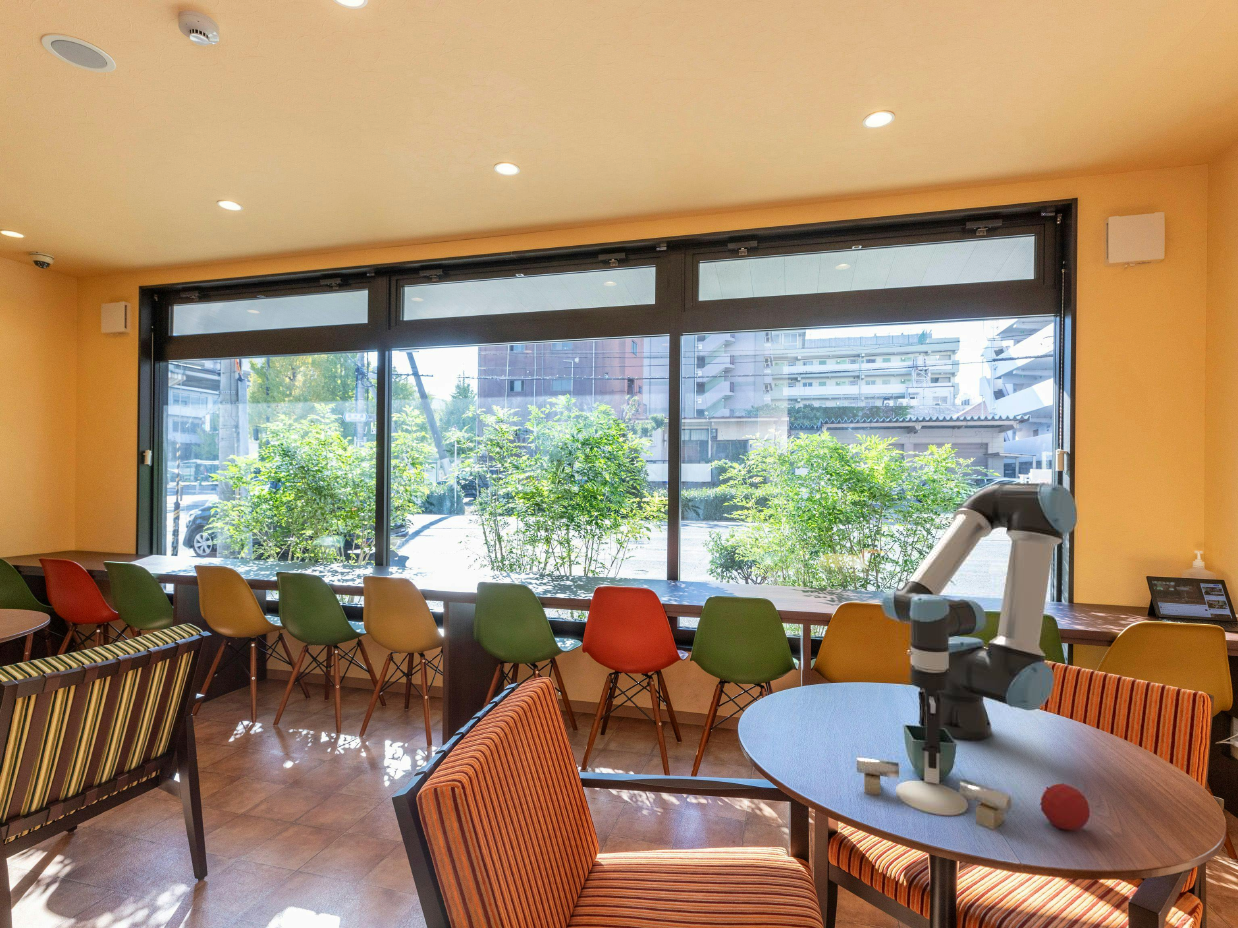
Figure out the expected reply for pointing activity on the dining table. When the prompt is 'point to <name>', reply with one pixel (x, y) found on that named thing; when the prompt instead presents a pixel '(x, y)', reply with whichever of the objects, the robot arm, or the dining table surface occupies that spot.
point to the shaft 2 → (986, 803)
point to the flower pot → (916, 755)
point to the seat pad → (931, 798)
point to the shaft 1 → (876, 772)
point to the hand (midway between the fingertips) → (929, 771)
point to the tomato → (1065, 807)
